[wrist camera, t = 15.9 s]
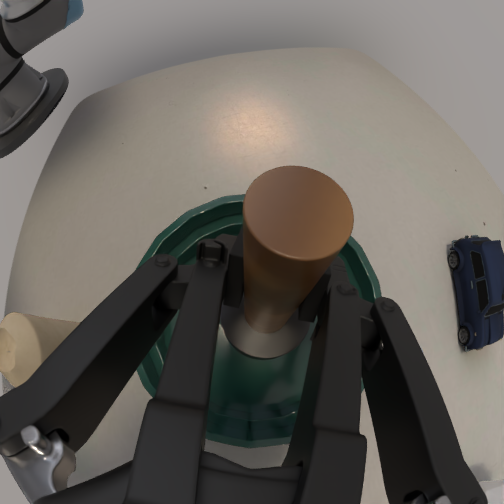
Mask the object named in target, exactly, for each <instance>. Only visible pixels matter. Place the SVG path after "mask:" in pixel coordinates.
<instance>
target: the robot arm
mask: <svg viewBox="0 0 504 504" xmlns="http://www.w3.org/2000/svg"><path fill="white" fill-rule="evenodd" d="M1 1H2V2H3V4H2V7H1V11H0V137H2V136H5V135H7V134H8V133H10V132H11V131H13V130H14V129H15V128H16V127H18V126H19V125H20V124H21V123H22V122H23V121H24V120H25V119H26V118H27V117H28V116H29V115H30V114H31V113H32V112H33V110H34V109H35V108H36V107H37V106H38V104H39V103H40V102H41V100H42V99H43V97H44V96H45V94H46V92H47V90H48V87H49V82H48V80H47V79H46V77H45V76H44V75H42V74H41V73H39V72H38V71H36V70H35V69H33V68H32V67H30V66H29V65H27V64H26V63H25V61H24V60H23V58H22V56H23V55H24V54H25V53H27V52H28V51H30V50H31V49H32V48H34V47H35V46H37V45H38V44H39V43H41V42H43V41H44V40H46V39H47V38H49V37H51V36H52V35H54V34H56V33H57V32H59V31H61V30H62V29H65V28H66V27H67V26H68V25H70V24H71V23H73V22H75V21H76V20H78V19H79V18H80V17H81V16H82V14H83V11H84V10H83V3H82V0H1ZM243 293H244V264H243V225H242V228H241V230H240V232H239V234H238V236H233V235H228V234H221V235H219V236H217V237H216V239H204V240H201V241H199V242H198V243H197V253H196V262H195V264H192V265H178V261H177V259H176V258H175V257H174V256H171V255H167V254H158V255H154V256H152V257H151V258H149V259H148V260H147V261H146V262H145V263H144V264H142V265H141V266H140V267H139V268H138V269H137V270H136V271H135V272H134V273H132V274H131V275H130V276H129V277H128V278H127V279H126V280H125V281H124V282H123V283H122V284H121V285H119V286H118V287H117V288H116V289H115V290H114V291H113V292H112V293H111V294H110V295H109V296H108V297H107V298H106V299H105V300H104V301H102V302H101V303H100V304H99V305H98V306H97V307H96V308H95V309H94V310H93V311H92V312H91V313H90V314H89V315H88V316H87V317H86V318H85V319H84V320H83V321H82V322H81V323H80V324H79V325H78V326H77V327H76V328H75V329H74V330H73V331H72V332H71V333H70V334H69V335H68V336H67V337H66V338H65V339H64V340H63V342H62V343H61V344H60V345H59V346H58V347H57V348H56V349H55V350H54V351H53V352H52V353H51V354H50V355H49V356H48V357H47V359H46V360H45V361H44V362H43V363H42V364H41V365H40V366H39V367H38V369H37V370H36V371H35V372H34V373H33V374H32V375H31V376H30V378H29V379H28V380H27V381H26V382H24V383H23V384H21V385H19V386H18V387H16V388H14V389H13V390H11V391H9V392H7V393H6V394H4V395H2V396H1V397H0V454H1V455H2V457H3V458H4V460H5V462H6V464H7V466H8V468H9V470H10V471H11V474H12V475H13V477H14V479H15V480H16V482H17V484H18V486H19V487H20V489H21V490H22V492H23V494H24V495H25V497H26V498H27V500H28V501H29V502H30V504H360V502H361V495H362V488H363V481H364V473H365V463H366V453H367V439H366V437H365V436H364V435H361V434H360V432H359V424H360V408H361V377H362V380H363V384H364V388H365V392H366V396H367V401H368V405H369V409H370V413H371V418H372V422H373V427H374V432H375V436H376V441H377V446H378V452H379V457H380V462H381V468H382V474H383V480H384V486H385V490H386V495H387V498H388V501H389V504H488V500H487V497H486V494H485V493H484V491H483V490H482V488H481V486H480V485H479V483H478V481H477V480H476V478H475V477H474V475H473V473H472V472H471V470H470V469H469V467H468V466H467V464H466V462H465V461H464V459H463V456H462V452H461V449H460V446H459V443H458V439H457V436H456V433H455V430H454V427H453V425H452V422H451V419H450V416H449V414H448V411H447V408H446V406H445V403H444V400H443V398H442V395H441V393H440V391H439V388H438V386H437V383H436V381H435V379H434V376H433V374H432V372H431V369H430V367H429V365H428V363H427V361H426V358H425V356H424V354H423V352H422V350H421V348H420V346H419V344H418V342H417V340H416V338H415V336H414V334H413V332H412V330H411V328H410V326H409V324H408V322H407V320H406V318H405V316H404V314H403V312H402V310H401V309H400V307H399V306H398V304H397V303H396V302H394V301H393V300H392V299H390V298H386V297H378V298H376V300H375V302H374V303H371V302H368V301H366V300H364V299H362V298H360V297H359V292H358V290H357V289H356V288H355V286H353V285H352V284H350V282H349V278H348V274H347V271H346V268H345V264H344V261H343V260H342V259H341V258H340V257H339V256H336V258H335V259H334V260H333V262H332V263H331V265H330V266H329V267H328V269H327V270H326V271H325V273H324V274H323V275H322V277H321V278H320V279H319V281H318V282H317V283H316V285H315V286H314V287H313V289H312V290H311V291H310V293H309V294H308V295H307V297H306V298H305V299H304V300H303V302H302V303H301V304H300V305H299V307H298V320H300V321H306V322H312V323H314V321H315V319H316V316H317V319H318V321H317V323H316V326H315V328H314V331H313V333H312V336H311V338H310V341H312V345H311V350H310V356H309V361H308V366H307V371H306V376H305V381H304V386H303V391H302V395H301V400H300V404H299V408H298V413H297V417H296V421H295V425H294V429H293V433H292V437H291V441H290V445H289V448H288V452H287V455H286V458H285V460H284V462H283V464H282V466H280V467H271V468H259V469H249V468H246V467H244V466H241V465H239V464H236V463H234V462H232V461H229V460H227V459H225V458H223V457H221V456H219V455H216V454H214V453H210V452H206V451H204V447H205V436H206V427H207V418H208V409H209V401H210V392H211V384H212V376H213V368H214V360H215V353H216V345H217V338H218V330H219V323H220V316H221V308H222V302H223V305H226V306H230V307H235V308H239V307H240V303H241V300H242V297H243ZM223 299H224V301H223ZM178 310H180V311H179V314H178V317H177V321H176V324H175V327H174V330H173V334H172V337H171V340H170V344H169V347H168V351H167V354H166V358H165V361H164V365H163V368H162V372H161V375H160V379H159V383H158V386H157V390H156V394H155V397H154V398H153V399H150V400H149V402H148V404H147V406H146V409H145V413H144V417H143V421H142V425H141V429H140V433H139V437H138V441H137V445H136V449H135V453H134V458H133V460H131V461H129V462H127V463H125V464H123V465H121V466H119V467H117V468H115V469H113V470H111V471H108V472H106V473H104V474H102V475H99V476H97V477H95V478H92V479H90V480H88V481H85V482H83V483H80V484H77V485H75V486H72V487H70V488H67V480H68V477H69V476H70V474H71V473H73V472H74V471H75V469H76V456H75V452H76V451H78V450H79V449H80V448H81V447H82V446H83V445H84V444H85V443H86V442H87V440H88V439H89V438H90V436H91V435H92V434H93V432H94V431H95V430H96V428H97V427H98V425H99V424H100V422H101V421H102V419H103V418H104V416H105V415H106V413H107V412H108V410H109V409H110V407H111V406H112V404H113V403H114V401H115V400H116V398H117V397H118V395H119V394H120V393H121V391H122V390H123V388H124V387H125V385H126V384H127V382H128V381H129V379H130V378H131V377H132V375H133V374H134V372H135V371H136V369H137V368H138V367H139V365H140V364H141V362H142V361H143V359H144V358H145V357H146V355H147V354H148V352H149V351H150V349H151V348H152V347H153V345H154V344H155V342H156V341H157V340H158V338H159V337H160V335H161V334H162V333H163V331H164V330H165V328H166V327H167V326H168V324H169V323H170V322H171V320H172V319H173V317H174V316H175V315H176V313H177V311H178ZM382 343H383V346H382Z"/></svg>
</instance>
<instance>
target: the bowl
mask: <svg viewBox="0 0 504 504" xmlns="http://www.w3.org/2000/svg"><path fill="white" fill-rule="evenodd" d="M244 197H245V194H242V195H232V196H224V197H221V198H218V199H216V200H213V201H211V202H208V203H206V204H203V205H201V206H199V207H196V208H194V209H191V210H189V211H188V212H186V213H184V214H183V215H182V216H181V217H179V218H178V219H177V220H176V221H175V222H173V223H172V224H171V225H170V226H169V227H167V228H166V229H165V230H164V231H163V232H161V233H160V234H159V235H158V236H157V237H156V238H155V240H154V241H153V243H152V244H151V246H150V248H149V249H148V251H147V252H146V254H145V255H144V257H143V258H142V260H141V262H140V263H139V265H138V266H137V268H136V270H137V269H138V268H139V267H140V266H141V265H142V264H144V263H145V262H146V261H147V260H148V259H149V258H151V257H152V256H154V255H158V254H167V255H171V256H174V257H175V258H176V259H177V261H178V265H192V264H195V262H196V253H197V243H198V242H199V241H201V240H204V239H216V237H217V236H219V235H221V234H228V235H233V236H238V234H239V232H240V230H241V228H242V225H243V201H244ZM337 256H339V257H340V258H341V259H342V260H343V261H344V264H345V268H346V271H347V274H348V278H349V282H350V284H352V285H353V286H355V288H356V289H357V290H358V292H359V297H360V298H362V299H364V300H366V301H368V302H371V303H374V302H375V300H376V298H378V297H382V296H381V290H380V285H379V282H378V279H377V276H376V274H375V272H374V270H373V268H372V266H371V264H370V262H369V260H368V258H367V257H366V255H365V253H364V251H363V249H362V247H361V246H360V245H359V244H358V243H357V242H356V241H355V239H354V238H353V237H352V236H351V235H350V237H349V239H348V241H347V242H346V244H345V245H344V247H343V248H342V249H341V251H340V252H339V254H338V255H337ZM136 270H135V271H136ZM179 311H180V310H178V311H177V313H176V315H175V316H174V317H173V319H172V320H171V322H170V323H169V324H168V326H167V327H166V328H165V330H164V331H163V333H162V334H161V335H160V337H159V338H158V340H157V341H156V342H155V344H154V345H153V347H152V348H151V349H150V351H149V352H148V354H147V355H146V357H145V358H144V359H143V361H142V362H141V364H140V365H139V367H138V368H137V369H136V370H137V372H138V375H139V377H140V380H141V382H142V384H143V386H144V388H145V389H146V390H147V391H148V393H149V394H150V395H151V396H152V397H153V398H154V397H155V394H156V390H157V386H158V383H159V379H160V375H161V372H162V368H163V365H164V361H165V358H166V354H167V351H168V347H169V344H170V340H171V337H172V334H173V330H174V327H175V324H176V321H177V317H178V314H179ZM317 321H318V319H317V316H316V319H315V321H314V323H312V322H311V323H310V327H309V330H308V332H307V334H306V336H305V338H304V339H303V341H302V342H301V343H300V344H299V345H298V346H297V347H296V348H295V349H294V350H292V351H291V352H289V353H287V354H285V355H283V356H280V357H278V358H275V359H271V360H256V359H252V358H249V357H246V356H244V355H243V354H241V353H239V352H238V351H237V350H236V349H235V348H234V347H233V346H232V345H231V344H230V342H229V341H228V339H227V337H226V335H225V333H224V331H223V329H222V326H221V322H220V323H219V330H218V338H217V345H216V353H215V360H214V368H213V376H212V384H211V392H210V401H209V409H208V418H207V427H206V436H205V439H208V440H211V441H215V442H220V443H224V444H229V445H234V446H239V447H244V448H258V447H268V446H276V445H283V444H290V441H291V437H292V433H293V429H294V425H295V421H296V417H297V413H298V408H299V404H300V400H301V395H302V391H303V386H304V381H305V376H306V371H307V366H308V361H309V356H310V350H311V345H312V341H310V338H311V336H312V333H313V331H314V328H315V326H316V323H317ZM363 389H364V384H363V380H362V377H361V393H362V391H363Z"/></svg>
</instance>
